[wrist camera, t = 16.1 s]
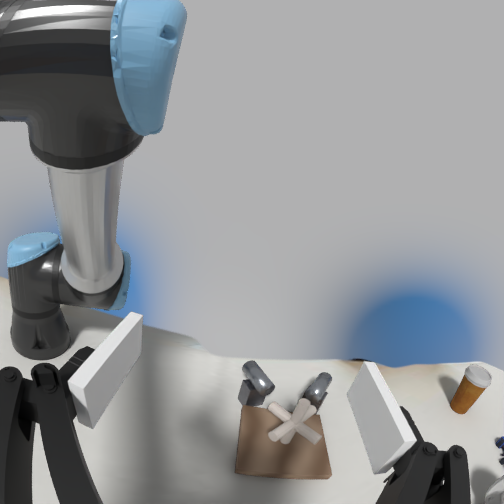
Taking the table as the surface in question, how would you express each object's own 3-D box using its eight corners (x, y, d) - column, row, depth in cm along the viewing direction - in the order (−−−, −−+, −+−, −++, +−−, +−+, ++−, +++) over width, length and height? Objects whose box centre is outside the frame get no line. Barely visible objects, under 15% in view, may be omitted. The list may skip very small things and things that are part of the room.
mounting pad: (234, 472, 30) (236, 468, 30) (241, 409, 45) (243, 404, 45) (328, 479, 31) (332, 474, 30) (316, 419, 45) (319, 414, 45)
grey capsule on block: (267, 411, 46) (279, 382, 44) (249, 415, 44) (259, 385, 42) (250, 388, 52) (260, 359, 50) (233, 391, 50) (241, 361, 48)
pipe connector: (243, 435, 37) (257, 396, 35) (282, 412, 44) (299, 373, 42) (287, 472, 30) (310, 437, 28) (323, 442, 38) (347, 405, 35)
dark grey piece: (310, 423, 44) (325, 394, 42) (292, 414, 46) (306, 385, 44) (322, 404, 50) (336, 376, 48) (305, 397, 52) (318, 369, 50)
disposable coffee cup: (464, 398, 52) (484, 365, 49) (474, 418, 43) (497, 382, 40) (441, 396, 54) (462, 361, 51) (451, 417, 45) (476, 380, 42)
